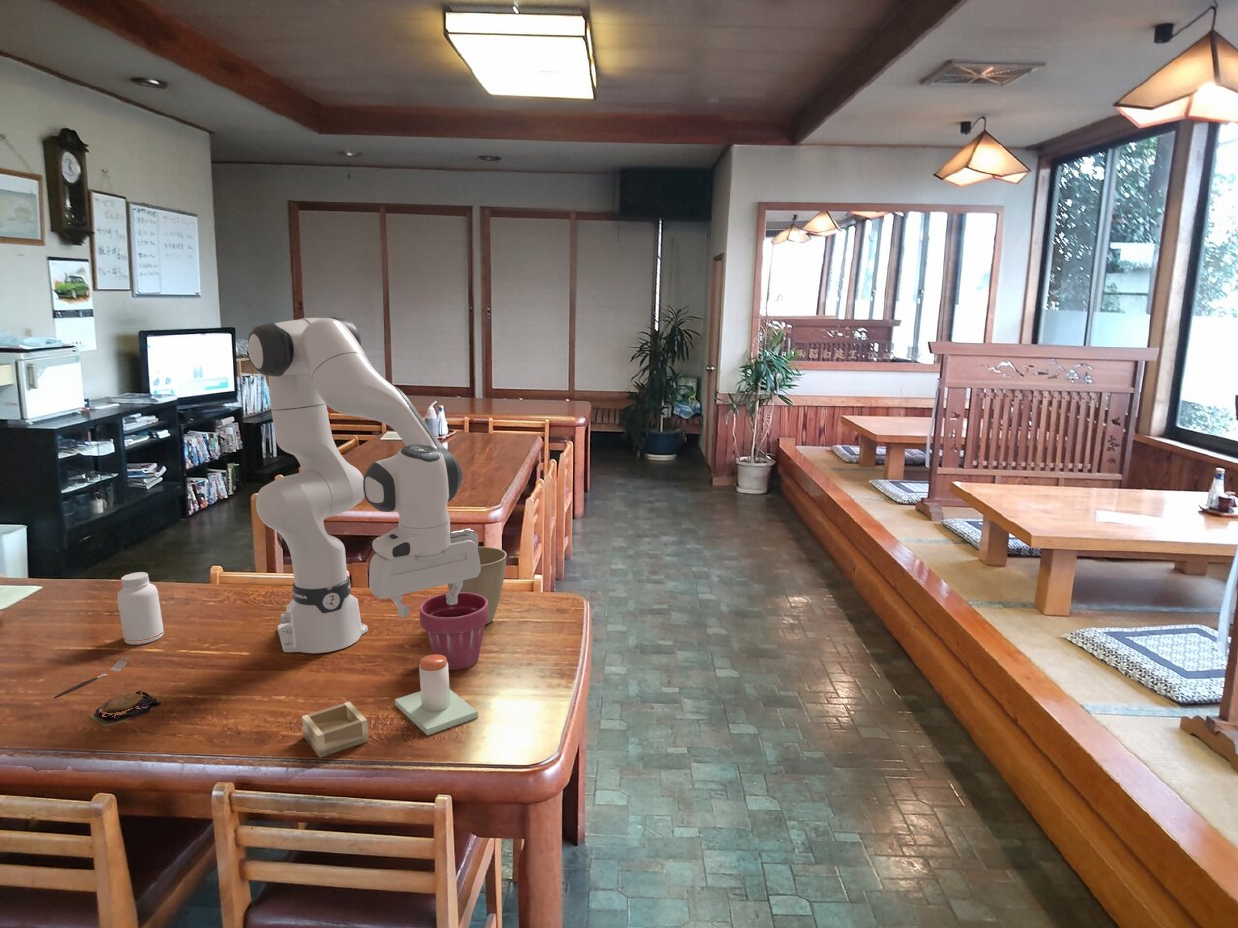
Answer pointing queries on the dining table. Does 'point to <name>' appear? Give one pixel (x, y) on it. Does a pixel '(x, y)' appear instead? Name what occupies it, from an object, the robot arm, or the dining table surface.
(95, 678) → the fork
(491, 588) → the plant pot
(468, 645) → the plant pot
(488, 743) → the dining table surface
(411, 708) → the pale green flat slab
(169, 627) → the dining table surface
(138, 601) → the pill bottle
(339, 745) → the holder
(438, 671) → the shaker
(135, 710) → the sandwich
